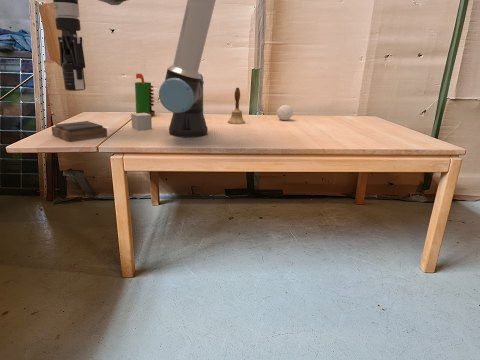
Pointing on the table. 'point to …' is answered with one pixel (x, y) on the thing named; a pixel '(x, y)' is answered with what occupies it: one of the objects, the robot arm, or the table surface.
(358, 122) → the table surface
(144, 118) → the grey cube
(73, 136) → the walnut plinth
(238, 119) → the hand bell
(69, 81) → the supplement bottle
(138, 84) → the green spray bottle
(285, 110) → the whitish grey ball
